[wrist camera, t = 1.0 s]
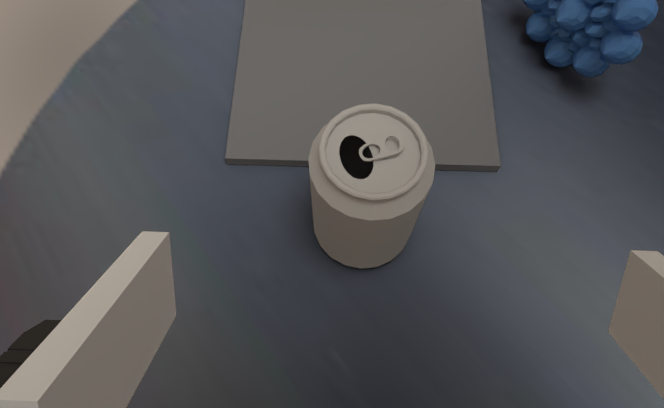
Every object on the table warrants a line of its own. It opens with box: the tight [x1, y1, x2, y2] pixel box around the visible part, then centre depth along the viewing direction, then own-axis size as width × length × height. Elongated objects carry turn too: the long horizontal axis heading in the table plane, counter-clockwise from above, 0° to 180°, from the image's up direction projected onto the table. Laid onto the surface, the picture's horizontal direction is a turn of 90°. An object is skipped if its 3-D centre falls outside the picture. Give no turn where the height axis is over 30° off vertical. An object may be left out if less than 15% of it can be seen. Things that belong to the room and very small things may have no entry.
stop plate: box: [225, 0, 501, 172], centre depth 43 cm, size 22×22×5 cm
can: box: [308, 103, 435, 269], centre depth 34 cm, size 8×8×12 cm
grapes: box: [523, 0, 659, 77], centre depth 40 cm, size 12×7×12 cm, turn 27°
